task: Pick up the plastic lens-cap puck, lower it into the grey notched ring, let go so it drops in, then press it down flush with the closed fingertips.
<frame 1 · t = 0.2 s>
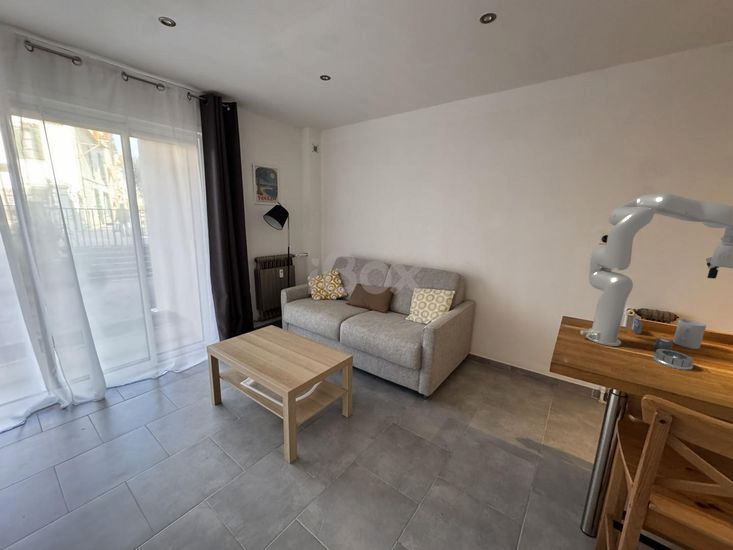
hand: (723, 280, 127), 31 cm above the table, fingers open, 9 cm apart
mug: (683, 345, 134), on the table
mini dv tape: (635, 332, 148), on the table
grey notched ring: (671, 362, 117), on the table
cap: (661, 351, 127), on the table
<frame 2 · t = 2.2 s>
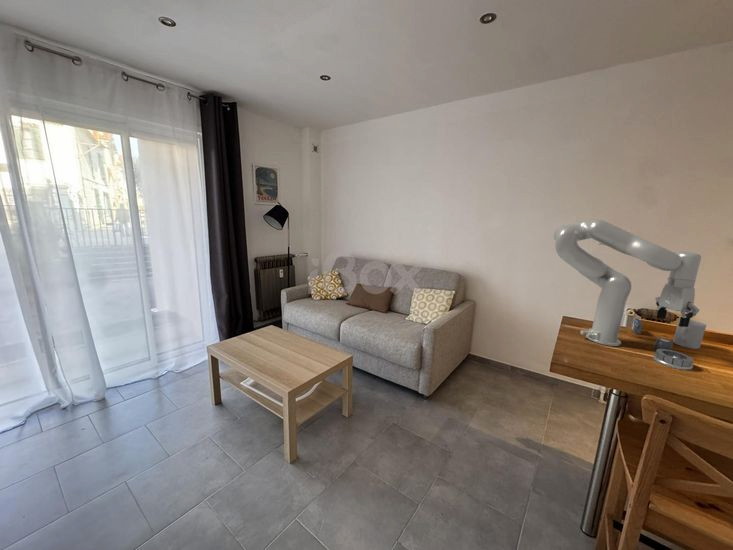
hand: (671, 322, 124), 13 cm above the table, fingers open, 9 cm apart
nothing on the table moved.
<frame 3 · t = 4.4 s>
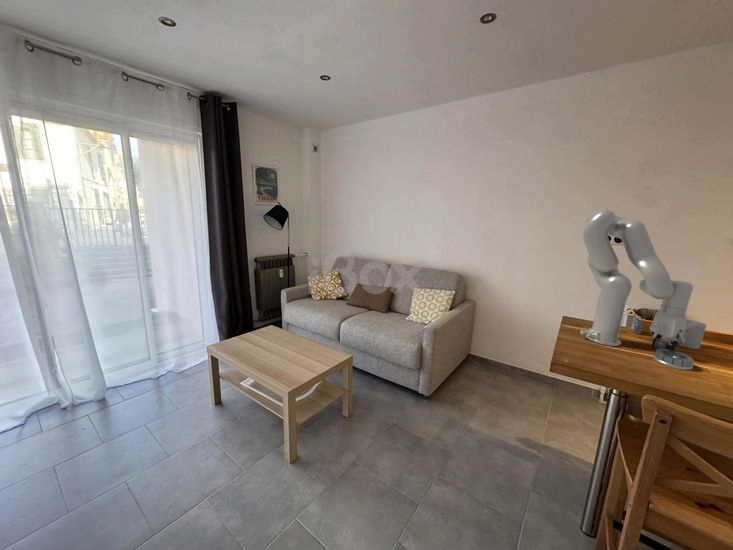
hand: (662, 350, 127), 0 cm above the table, fingers closed on cap, 5 cm apart
cap: (661, 351, 127), on the table, touching gripper
everything else where it was.
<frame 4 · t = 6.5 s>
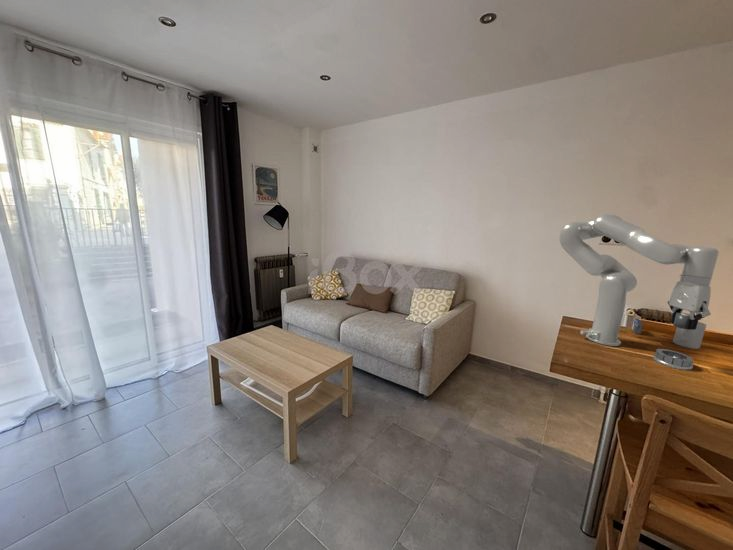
hand: (682, 325, 113), 16 cm above the table, fingers closed on cap, 5 cm apart
cap: (682, 327, 114), point 15 cm above the table, touching gripper
everything else where it was.
when the fingers open (4 cm above the table, at t = 9.1 s): cap drops 2 cm, resting on grey notched ring.
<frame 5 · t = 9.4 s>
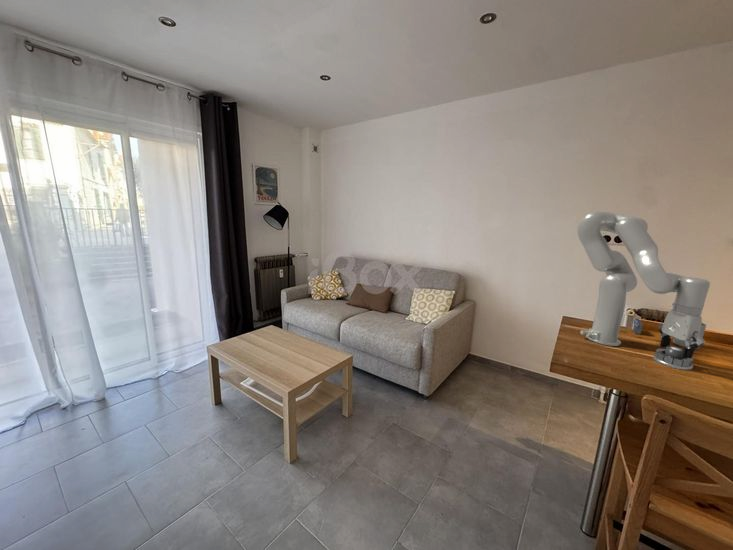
hand: (675, 351, 116), 5 cm above the table, fingers open, 8 cm apart
cap: (672, 360, 116), point 1 cm above the table, touching grey notched ring
everything else where it was.
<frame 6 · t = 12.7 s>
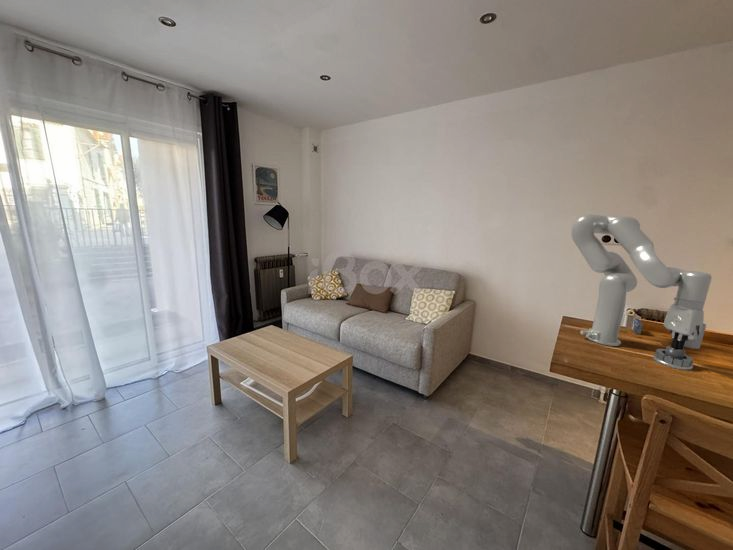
hand: (676, 348, 115), 6 cm above the table, fingers closed
cap: (672, 360, 116), point 1 cm above the table, touching grey notched ring, gripper
everything else where it was.
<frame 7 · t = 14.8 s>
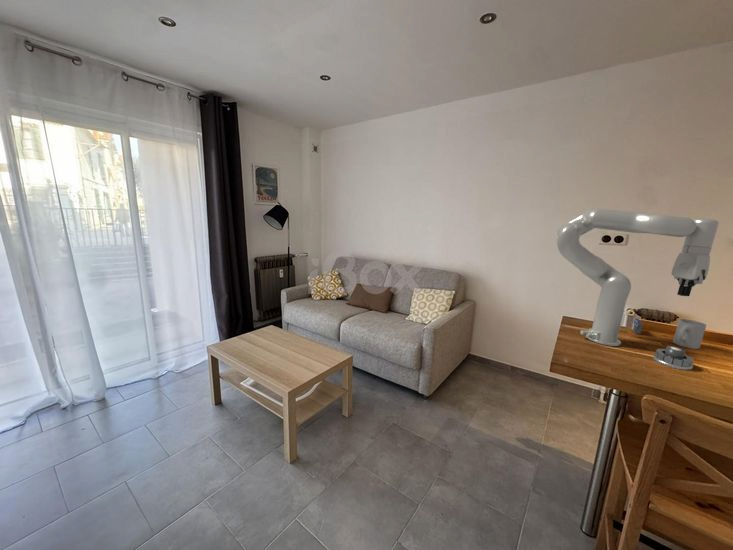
hand: (683, 295, 120), 25 cm above the table, fingers closed
cap: (672, 360, 116), point 1 cm above the table, touching grey notched ring
everything else where it was.
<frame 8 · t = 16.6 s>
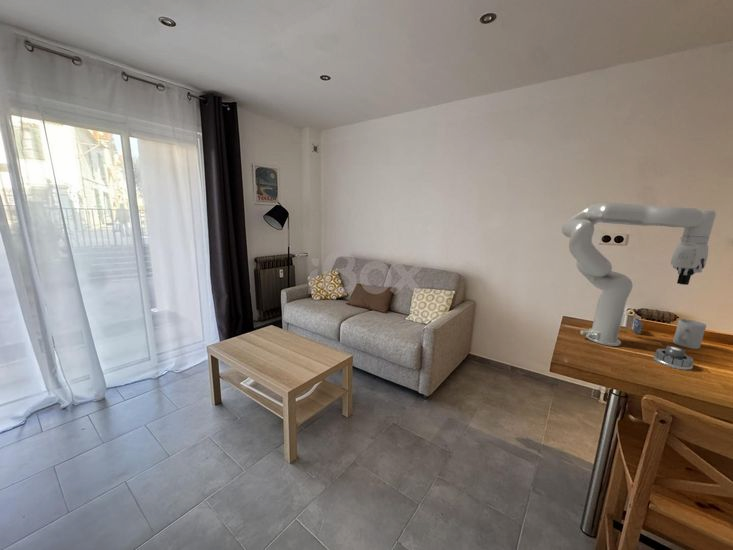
hand: (682, 284, 125), 29 cm above the table, fingers closed
nothing on the table moved.
at the end: cap 0.1 cm off-centre on the grey notched ring, point 1.0 cm above the grey notched ring's base; cap tilted 0°; the gripper is holding nothing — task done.
